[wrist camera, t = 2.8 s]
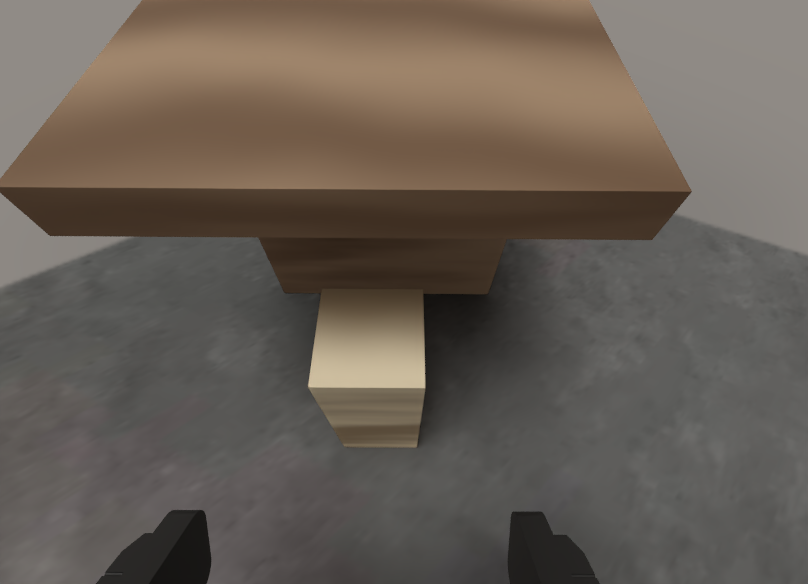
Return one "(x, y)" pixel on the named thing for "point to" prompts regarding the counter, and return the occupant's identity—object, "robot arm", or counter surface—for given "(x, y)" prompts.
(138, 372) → the counter surface
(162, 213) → the walnut shelf
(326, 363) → the oak block
